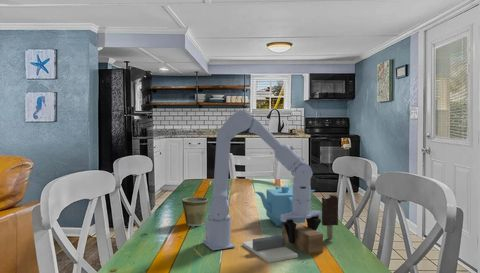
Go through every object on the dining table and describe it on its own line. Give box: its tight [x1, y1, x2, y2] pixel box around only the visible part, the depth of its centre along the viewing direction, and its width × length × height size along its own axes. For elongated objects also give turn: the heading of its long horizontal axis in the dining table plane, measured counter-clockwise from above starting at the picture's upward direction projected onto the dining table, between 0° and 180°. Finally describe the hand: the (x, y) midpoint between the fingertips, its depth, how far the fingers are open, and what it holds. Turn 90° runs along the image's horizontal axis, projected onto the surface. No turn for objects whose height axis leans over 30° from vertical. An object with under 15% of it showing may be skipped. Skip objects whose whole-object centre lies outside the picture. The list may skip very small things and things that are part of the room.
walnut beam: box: [281, 221, 324, 256], centre depth 120 cm, size 16×5×6 cm, turn 24°
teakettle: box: [254, 185, 316, 227], centre depth 148 cm, size 19×19×15 cm
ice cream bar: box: [321, 194, 339, 240], centre depth 127 cm, size 5×2×15 cm, turn 95°
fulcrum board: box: [241, 234, 299, 263], centre depth 115 cm, size 17×10×4 cm, turn 25°
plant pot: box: [181, 196, 209, 227], centre depth 147 cm, size 13×10×10 cm
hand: (301, 241), depth 120 cm, fingers open, 7 cm apart
